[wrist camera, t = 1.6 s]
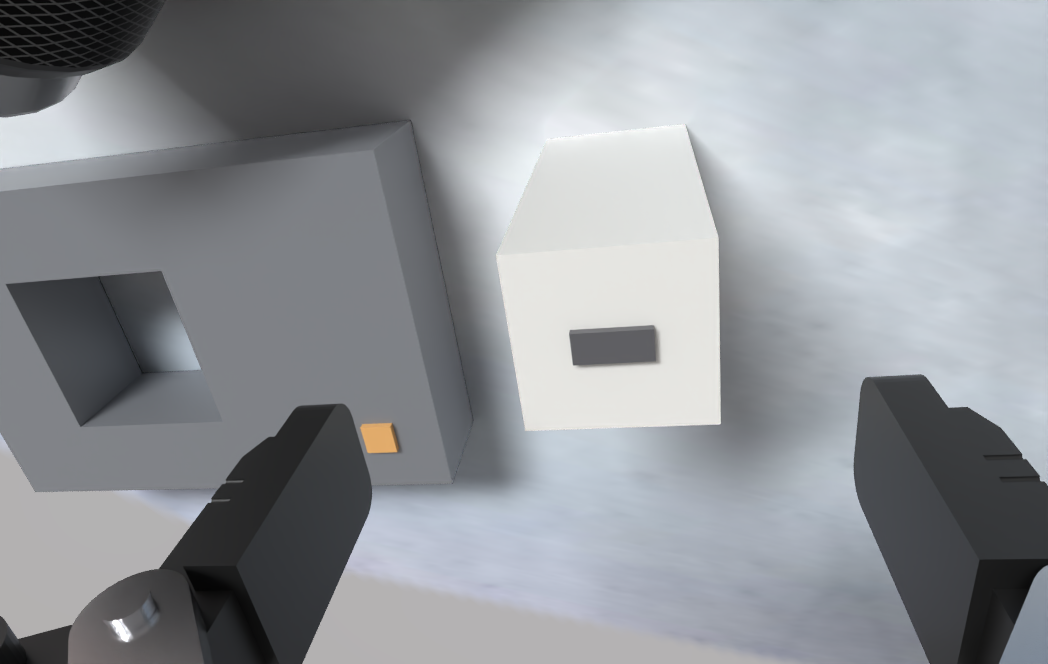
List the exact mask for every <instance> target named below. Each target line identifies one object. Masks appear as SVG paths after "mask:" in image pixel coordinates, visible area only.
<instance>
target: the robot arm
mask: <svg viewBox="0 0 1048 664" xmlns="http://www.w3.org/2000/svg"><path fill="white" fill-rule="evenodd" d="M1039 477H1040V476H1039V475H1038V473H1037V472H1036V471H1035V470H1034V468H1033V467H1032V466H1031V465H1030V463H1029V462H1028V461H1027V460H1026V459H1023V458H1022V453H1021V452H1020V451H1019V450H1018V448H1017V447H1016V446H1015V445H1014V443H1013V442H1012V441H1011V440H1010V438H1009V437H1008V436H1007V435H1006V433H1005V432H1004V431H1003V430H1002V429H1001V428H1000V427H998V426H997V425H995V424H994V423H992V422H990V421H989V420H987V419H986V418H984V417H982V416H981V415H979V414H978V413H976V412H974V411H973V410H971V409H970V408H968V407H958V408H948V407H947V405H946V404H945V402H944V401H943V400H942V398H941V397H940V396H939V394H938V393H937V391H936V390H935V389H934V387H933V386H932V385H931V383H930V382H929V380H928V379H927V378H926V377H925V376H924V375H921V374H920V375H901V376H882V377H867V378H865V379H864V381H863V383H862V386H861V392H860V402H859V412H858V423H857V433H856V444H855V454H854V479H855V486H856V492H857V496H858V499H859V502H860V505H861V507H862V510H863V512H864V514H865V517H866V519H867V521H868V523H869V526H870V528H871V530H872V533H873V535H874V537H875V539H876V542H877V544H878V546H879V549H880V551H881V553H882V555H883V558H884V560H885V562H886V565H887V567H888V569H889V571H890V574H891V576H892V578H893V581H894V583H895V585H896V587H897V590H898V592H899V594H900V596H901V599H902V601H903V603H904V606H905V608H906V610H907V612H908V615H909V617H910V619H911V622H912V624H913V626H914V628H915V631H916V633H917V635H918V638H919V640H920V642H921V644H922V647H923V649H924V651H925V654H926V656H927V658H928V660H929V663H930V664H1048V486H1047V484H1046V483H1045V482H1041V481H1040V478H1039ZM225 480H226V483H225V484H222V485H221V486H220V488H219V489H218V490H217V492H216V493H215V494H214V496H213V497H212V502H211V503H208V504H207V505H206V506H205V508H204V509H203V510H202V512H201V513H200V514H199V516H198V517H197V518H196V520H195V521H194V522H193V524H192V525H191V526H190V528H189V529H188V530H187V532H186V533H185V535H184V536H183V538H182V539H181V540H180V541H179V543H178V544H177V545H176V547H175V548H174V550H173V551H172V552H171V553H170V555H169V556H168V557H167V559H166V560H165V561H164V563H163V564H162V565H161V567H160V568H159V569H155V570H149V571H145V572H141V573H138V574H135V575H132V576H130V577H127V578H125V579H123V580H121V581H119V582H117V583H116V584H114V585H112V586H111V587H109V588H107V589H106V590H105V591H103V592H102V593H100V594H99V595H98V596H97V597H95V598H94V599H93V600H92V601H91V602H90V603H89V604H88V605H87V606H86V607H85V608H84V609H83V610H82V611H81V613H80V614H79V616H78V617H77V618H76V620H75V622H74V623H73V625H69V626H66V627H62V628H58V629H55V630H51V631H47V632H43V633H39V634H36V635H32V636H28V637H24V638H21V639H17V637H16V636H15V634H14V633H13V632H12V630H11V629H10V627H9V626H8V624H7V623H6V621H5V620H4V619H3V618H2V617H1V616H0V664H302V663H303V661H304V658H305V656H306V653H307V652H308V649H309V647H310V645H311V643H312V640H313V638H314V636H315V634H316V631H317V629H318V627H319V625H320V622H321V620H322V618H323V615H324V613H325V611H326V609H327V607H328V604H329V602H330V600H331V598H332V595H333V593H334V591H335V589H336V586H337V584H338V582H339V579H340V577H341V575H342V573H343V571H344V568H345V566H346V564H347V562H348V559H349V557H350V555H351V553H352V550H353V548H354V546H355V544H356V541H357V539H358V537H359V535H360V532H361V530H362V528H363V526H364V523H365V521H366V519H367V517H368V514H369V511H370V506H371V499H372V485H371V478H370V474H369V471H368V468H367V464H366V461H365V458H364V454H363V451H362V448H361V444H360V441H359V438H358V434H357V431H356V428H355V424H354V421H353V417H352V415H351V412H350V410H349V408H348V407H347V406H346V405H345V404H341V403H340V404H320V405H301V406H298V407H296V408H295V409H294V410H293V412H292V413H291V414H290V416H289V417H288V419H287V420H286V422H285V423H284V424H283V426H282V427H281V429H280V430H279V431H278V433H277V434H276V436H275V437H268V438H266V439H265V440H264V441H262V442H261V443H260V444H258V445H257V446H256V447H255V448H253V449H252V450H251V451H249V452H248V453H247V454H245V455H244V456H243V457H242V458H241V459H240V461H239V462H238V463H237V465H236V466H235V467H234V469H233V470H232V471H231V473H230V474H229V475H228V477H227V478H226V479H225Z"/></svg>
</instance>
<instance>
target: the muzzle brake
mask: <svg viewBox="0 0 1048 664" xmlns="http://www.w3.org/2000/svg"><path fill="white" fill-rule="evenodd" d="M165 1H166V0H0V117H12V116H18V115H24V114H30V113H36V112H39V111H41V110H43V109H46V108H48V107H50V106H53V105H55V104H57V103H59V102H61V101H62V100H63V99H64V98H66V97H67V96H68V95H69V94H70V93H71V92H72V91H73V90H74V89H75V88H76V86H77V84H78V82H79V80H80V78H81V76H82V75H85V74H88V73H91V72H93V71H96V70H99V69H102V68H104V67H107V66H109V65H112V64H114V63H117V62H120V61H122V60H124V59H125V58H126V57H128V56H129V55H130V54H131V53H132V52H133V51H134V50H135V49H136V48H137V47H138V46H139V45H140V44H141V43H142V41H143V39H144V38H145V36H146V34H147V32H148V30H149V29H150V27H151V25H152V23H153V22H154V20H155V18H156V16H157V15H158V13H159V11H160V9H161V8H162V6H163V4H164V2H165Z"/></svg>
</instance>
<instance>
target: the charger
mask: <svg viewBox="0 0 1048 664" xmlns="http://www.w3.org/2000/svg"><path fill="white" fill-rule="evenodd" d="M496 260H497V266H498V272H499V278H500V283H501V289H502V295H503V301H504V307H505V313H506V319H507V325H508V331H509V337H510V343H511V349H512V355H513V361H514V367H515V372H516V378H517V384H518V390H519V396H520V402H521V408H522V414H523V420H524V426H525V431H539V430H569V429H599V428H629V427H659V426H689V425H719V424H721V404H720V317H719V237H718V234H717V231H716V227H715V224H714V220H713V217H712V214H711V210H710V207H709V203H708V200H707V197H706V193H705V190H704V186H703V183H702V180H701V176H700V173H699V169H698V166H697V163H696V159H695V156H694V152H693V149H692V146H691V142H690V139H689V135H688V132H687V129H686V125H685V124H679V125H669V126H660V127H651V128H642V129H633V130H624V131H615V132H606V133H596V134H587V135H578V136H569V137H560V138H551V139H547V140H546V142H545V144H544V146H543V149H542V151H541V153H540V156H539V158H538V160H537V162H536V165H535V167H534V169H533V172H532V174H531V176H530V179H529V181H528V183H527V185H526V188H525V190H524V192H523V195H522V197H521V199H520V201H519V204H518V206H517V208H516V211H515V213H514V215H513V217H512V220H511V222H510V224H509V227H508V229H507V231H506V233H505V236H504V238H503V240H502V243H501V245H500V247H499V249H498V252H497V254H496Z"/></svg>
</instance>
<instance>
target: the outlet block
mask: <svg viewBox="0 0 1048 664" xmlns="http://www.w3.org/2000/svg"><path fill="white" fill-rule="evenodd" d="M156 271H162V274H163V276H164V279H165V281H166V284H167V286H168V289H169V291H170V293H171V296H172V298H173V301H174V303H175V306H176V308H177V311H178V313H179V316H180V318H181V320H182V323H183V325H184V328H185V330H186V333H187V335H188V338H189V340H190V342H191V345H192V347H193V350H194V352H195V355H196V357H197V360H198V362H199V365H200V367H201V369H202V370H193V371H174V372H156V373H142V372H141V370H140V368H139V366H138V363H137V361H136V359H135V357H134V355H133V352H132V350H131V348H130V346H129V344H128V341H127V339H126V337H125V335H124V333H123V330H122V328H121V326H120V324H119V322H118V319H117V317H116V315H115V313H114V311H113V308H112V306H111V304H110V302H109V300H108V297H107V295H106V293H105V291H104V289H103V286H102V284H101V282H100V280H99V278H98V276H108V275H120V274H132V273H144V272H156ZM340 403H341V404H345V405H346V406H347V407H348V408H349V410H350V412H351V415H352V417H353V421H354V424H355V428H356V431H357V434H358V438H359V441H360V444H361V448H362V451H363V454H364V458H365V461H366V464H367V468H368V471H369V474H370V478H371V485H414V484H453V481H454V478H455V475H456V472H457V469H458V466H459V463H460V460H461V457H462V454H463V451H464V448H465V445H466V442H467V439H468V436H469V433H470V430H471V427H472V424H473V417H472V412H471V407H470V403H469V398H468V393H467V388H466V383H465V379H464V374H463V369H462V364H461V359H460V355H459V350H458V345H457V340H456V336H455V331H454V326H453V321H452V316H451V312H450V307H449V302H448V297H447V292H446V288H445V283H444V278H443V273H442V268H441V264H440V259H439V254H438V249H437V244H436V240H435V235H434V230H433V225H432V220H431V216H430V211H429V206H428V201H427V196H426V192H425V187H424V182H423V177H422V172H421V168H420V163H419V158H418V153H417V149H416V144H415V139H414V134H413V129H412V125H411V120H408V121H399V122H391V123H383V124H374V125H366V126H357V127H349V128H340V129H332V130H324V131H315V132H307V133H298V134H290V135H282V136H273V137H265V138H256V139H248V140H239V141H231V142H223V143H214V144H206V145H197V146H189V147H180V148H172V149H164V150H155V151H147V152H138V153H130V154H121V155H113V156H105V157H96V158H88V159H79V160H71V161H62V162H54V163H46V164H37V165H29V166H20V167H12V168H3V169H0V433H1V435H2V436H3V438H4V440H5V441H6V443H7V445H8V447H9V448H10V450H11V452H12V453H13V455H14V457H15V458H16V460H17V462H18V463H19V465H20V467H21V469H22V470H23V472H24V474H25V475H26V477H27V479H28V480H29V482H30V484H31V485H32V487H33V489H34V491H35V492H58V491H109V490H160V489H211V488H220V486H221V485H222V484H225V483H226V480H225V479H226V478H227V477H228V475H229V474H230V473H231V471H232V470H233V469H234V467H235V466H236V465H237V463H238V462H239V461H240V459H241V458H242V457H243V456H244V455H245V454H247V453H248V452H249V451H251V450H252V449H253V448H255V447H256V446H257V445H258V444H260V443H261V442H262V441H264V440H265V439H266V438H268V437H275V436H276V434H277V433H278V431H279V430H280V429H281V427H282V426H283V424H284V423H285V422H286V420H287V419H288V417H289V416H290V414H291V413H292V412H293V410H294V409H295V408H296V407H298V406H301V405H320V404H340Z"/></svg>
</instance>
